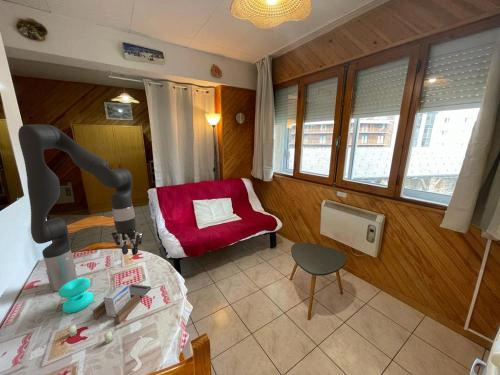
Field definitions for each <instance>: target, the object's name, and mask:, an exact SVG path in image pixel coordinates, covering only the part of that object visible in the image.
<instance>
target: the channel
mask: <svg viewBox="0 0 500 375" xmlns="http://www.w3.org/2000/svg"><path fill="white" fill-rule="evenodd" d="M141 299H142V298H140V293H136V294H135V295H134V296H133V297H131V299H130V300H129V301H128V302H127V303H126V304H125V305H124V306H123V307H122V308H121V309H120V310H119V311H118V312H117V313H116V317H115V318H116V323H117V324H121V323H122V322H123V321H124V320H125V319H126V318H127V317H128V316H129V315H130V314H131V313H132V311H133V310H135V308H136V307H137V306H138V305H139V304H140V303H141V302H142V300H141ZM105 313H107V312H106V307H105V303H104V300H103V301H102V302H100V303H99V304H98V305H97V306H96V307H95V308H94V309H92V314H93V318H94V320H97V321H98V320H99V319H100V318H101V317H102V316H103V315H104V314H105Z"/></svg>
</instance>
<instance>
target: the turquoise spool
mask: <svg viewBox="0 0 500 375" xmlns="http://www.w3.org/2000/svg"><path fill="white" fill-rule="evenodd" d="M90 287H91V280H90V279H89V278H87V277H77V279H74V280H72V281H70V282H68V283H66V284H65V285H63V286H62V287H61V288H60V290H59V291H58V292H57V293H58V294H57V295H58V296H59V297H61V298H62V299H66V300H65V301H64V302H63V305H62V307H61V308H62V311H63V312H65V313H69V314H71V313H72V314H73V313H76V312H80V311H81V310H83V309H85V308H87V307H88V306H89V305H90V304H91V303H92V302H93V300H94V297H95V296H94V294H93V293H92V292H91V291H87V290H88V289H89V288H90Z"/></svg>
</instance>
